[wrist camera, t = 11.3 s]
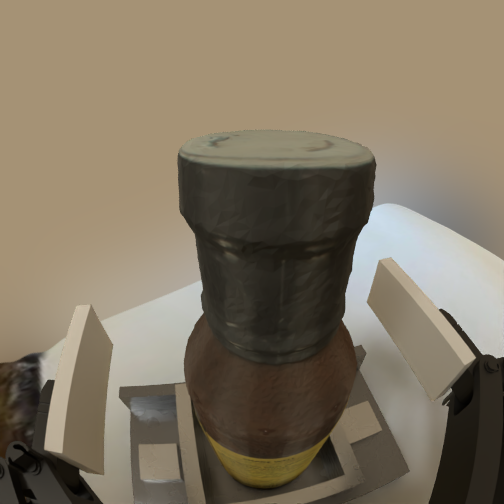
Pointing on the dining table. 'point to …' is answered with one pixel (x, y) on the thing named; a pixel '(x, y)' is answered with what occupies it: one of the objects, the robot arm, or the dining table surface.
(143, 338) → the dining table surface
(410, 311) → the robot arm
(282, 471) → the sauce bottle
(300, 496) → the bottle holder
